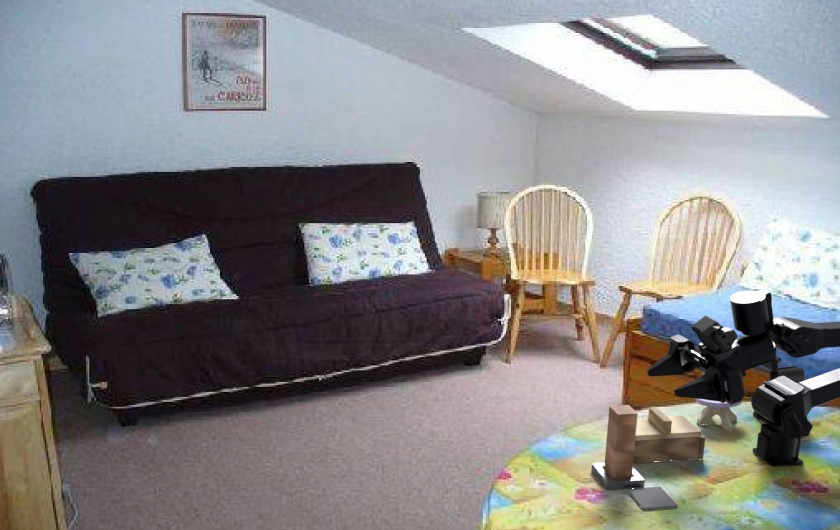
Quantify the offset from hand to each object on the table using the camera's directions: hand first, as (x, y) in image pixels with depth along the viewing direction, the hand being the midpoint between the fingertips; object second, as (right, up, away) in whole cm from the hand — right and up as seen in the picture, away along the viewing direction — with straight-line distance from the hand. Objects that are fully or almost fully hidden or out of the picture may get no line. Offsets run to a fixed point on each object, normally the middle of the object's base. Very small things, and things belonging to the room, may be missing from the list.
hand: (660, 383), depth 135 cm
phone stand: (+32, -12, +24) cm, 42 cm away
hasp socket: (-8, -17, 0) cm, 18 cm away
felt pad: (-3, -18, -6) cm, 20 cm away
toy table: (+19, -12, +24) cm, 33 cm away
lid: (+2, -10, +9) cm, 14 cm away
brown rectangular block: (-8, -17, 0) cm, 18 cm away
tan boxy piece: (+2, -14, +10) cm, 18 cm away
